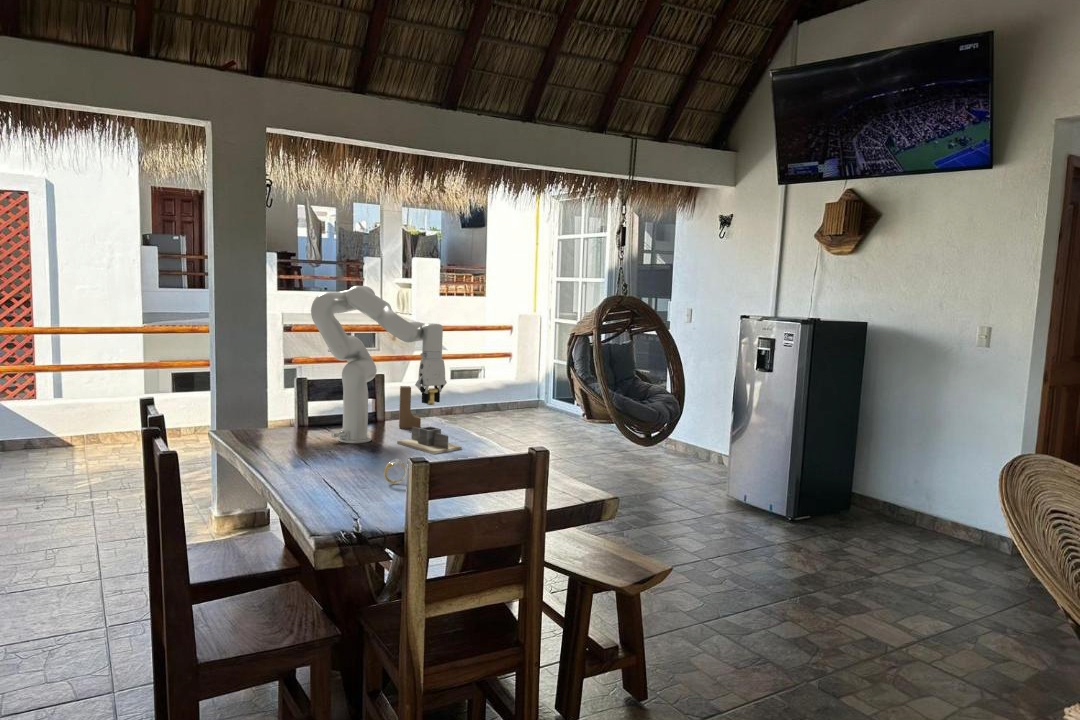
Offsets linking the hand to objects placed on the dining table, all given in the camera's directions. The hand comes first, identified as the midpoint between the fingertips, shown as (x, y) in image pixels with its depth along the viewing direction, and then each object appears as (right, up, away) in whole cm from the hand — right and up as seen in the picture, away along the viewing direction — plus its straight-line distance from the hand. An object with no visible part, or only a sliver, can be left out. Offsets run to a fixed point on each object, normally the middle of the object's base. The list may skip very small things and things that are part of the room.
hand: (430, 402), depth 280 cm
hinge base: (-1, -17, +2) cm, 17 cm away
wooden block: (-15, -14, +35) cm, 41 cm away
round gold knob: (0, -1, 0) cm, 1 cm away
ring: (-3, -23, -53) cm, 58 cm away
